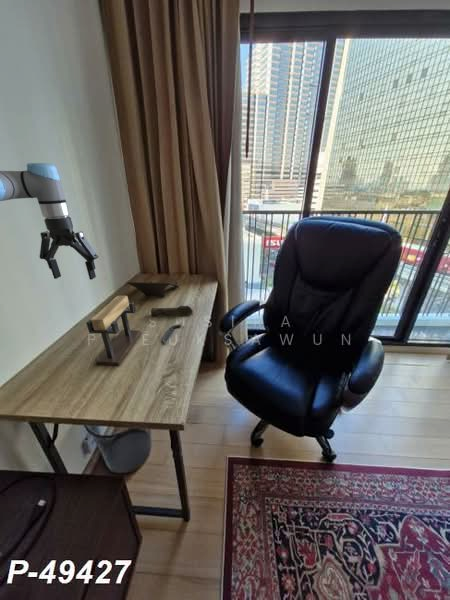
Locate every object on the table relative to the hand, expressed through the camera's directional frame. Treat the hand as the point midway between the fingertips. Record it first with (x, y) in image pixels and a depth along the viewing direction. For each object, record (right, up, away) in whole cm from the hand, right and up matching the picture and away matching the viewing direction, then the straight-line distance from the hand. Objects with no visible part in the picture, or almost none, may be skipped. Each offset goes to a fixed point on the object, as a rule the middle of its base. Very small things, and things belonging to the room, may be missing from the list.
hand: (75, 277), depth 91 cm
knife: (+32, -22, +13) cm, 41 cm away
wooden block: (+14, -15, 0) cm, 21 cm away
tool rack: (+14, -26, +5) cm, 31 cm away
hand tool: (+30, -15, +28) cm, 43 cm away
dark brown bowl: (+17, -4, +50) cm, 53 cm away
